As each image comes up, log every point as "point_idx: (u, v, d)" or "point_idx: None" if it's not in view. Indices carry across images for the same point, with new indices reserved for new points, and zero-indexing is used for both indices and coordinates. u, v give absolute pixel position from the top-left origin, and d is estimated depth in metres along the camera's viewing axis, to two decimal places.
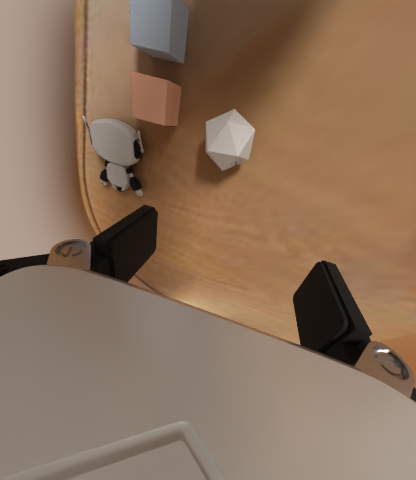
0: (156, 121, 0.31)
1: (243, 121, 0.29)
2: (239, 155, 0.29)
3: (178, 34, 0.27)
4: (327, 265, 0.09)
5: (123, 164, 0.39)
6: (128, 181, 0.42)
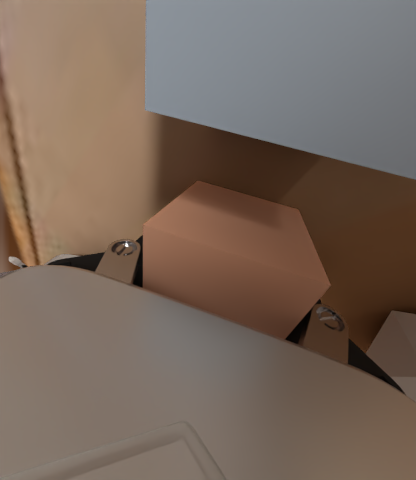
0: None
1: None
2: None
3: None
4: None
5: None
6: None
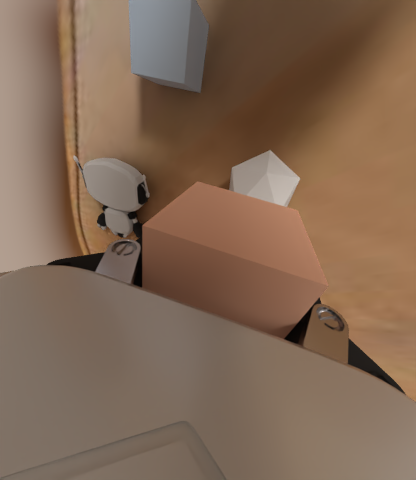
0: None
1: (284, 168, 0.21)
2: None
3: (196, 58, 0.20)
4: None
5: (125, 210, 0.32)
6: (131, 227, 0.35)
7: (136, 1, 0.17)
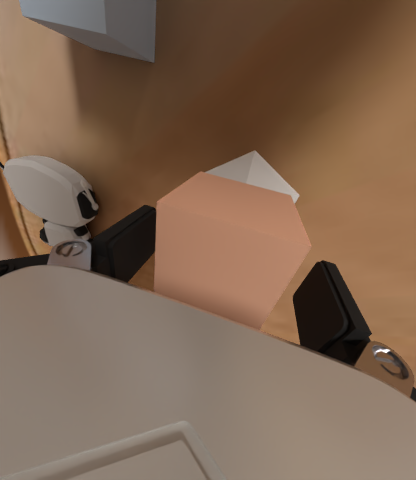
0: None
1: (275, 179, 0.14)
2: None
3: None
4: (327, 265, 0.09)
5: (68, 225, 0.24)
6: None
7: None
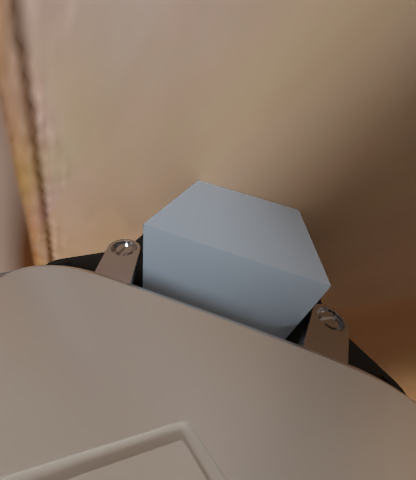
0: None
1: None
2: None
3: None
4: None
5: None
6: None
7: (163, 254, 0.06)
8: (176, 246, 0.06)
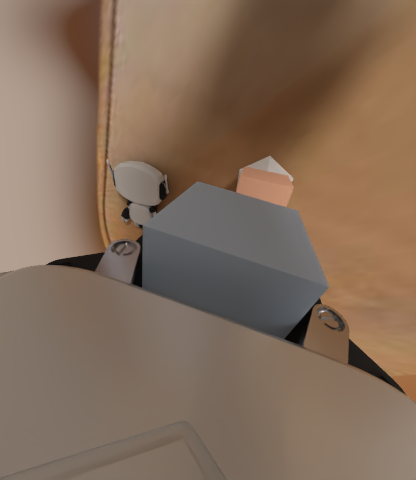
0: None
1: (281, 170, 0.27)
2: None
3: None
4: None
5: (147, 205, 0.38)
6: None
7: (162, 255, 0.06)
8: (175, 246, 0.06)
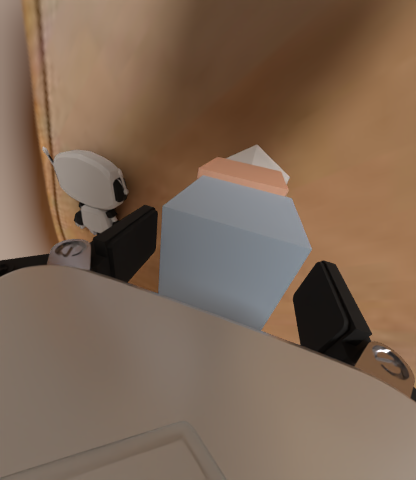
0: None
1: (272, 165, 0.19)
2: None
3: None
4: (327, 265, 0.09)
5: (102, 208, 0.29)
6: (110, 226, 0.32)
7: (178, 231, 0.08)
8: (188, 223, 0.08)
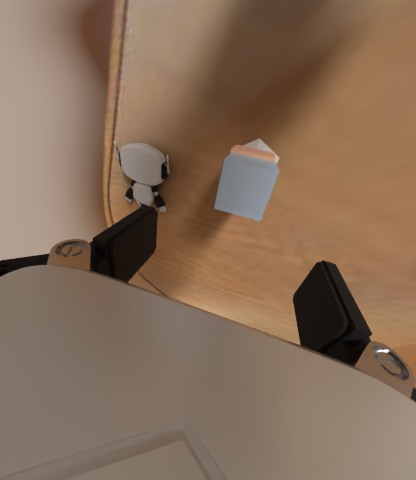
0: None
1: (269, 150, 0.31)
2: None
3: None
4: (327, 265, 0.09)
5: (150, 184, 0.42)
6: (153, 199, 0.45)
7: (229, 169, 0.20)
8: (234, 165, 0.20)
